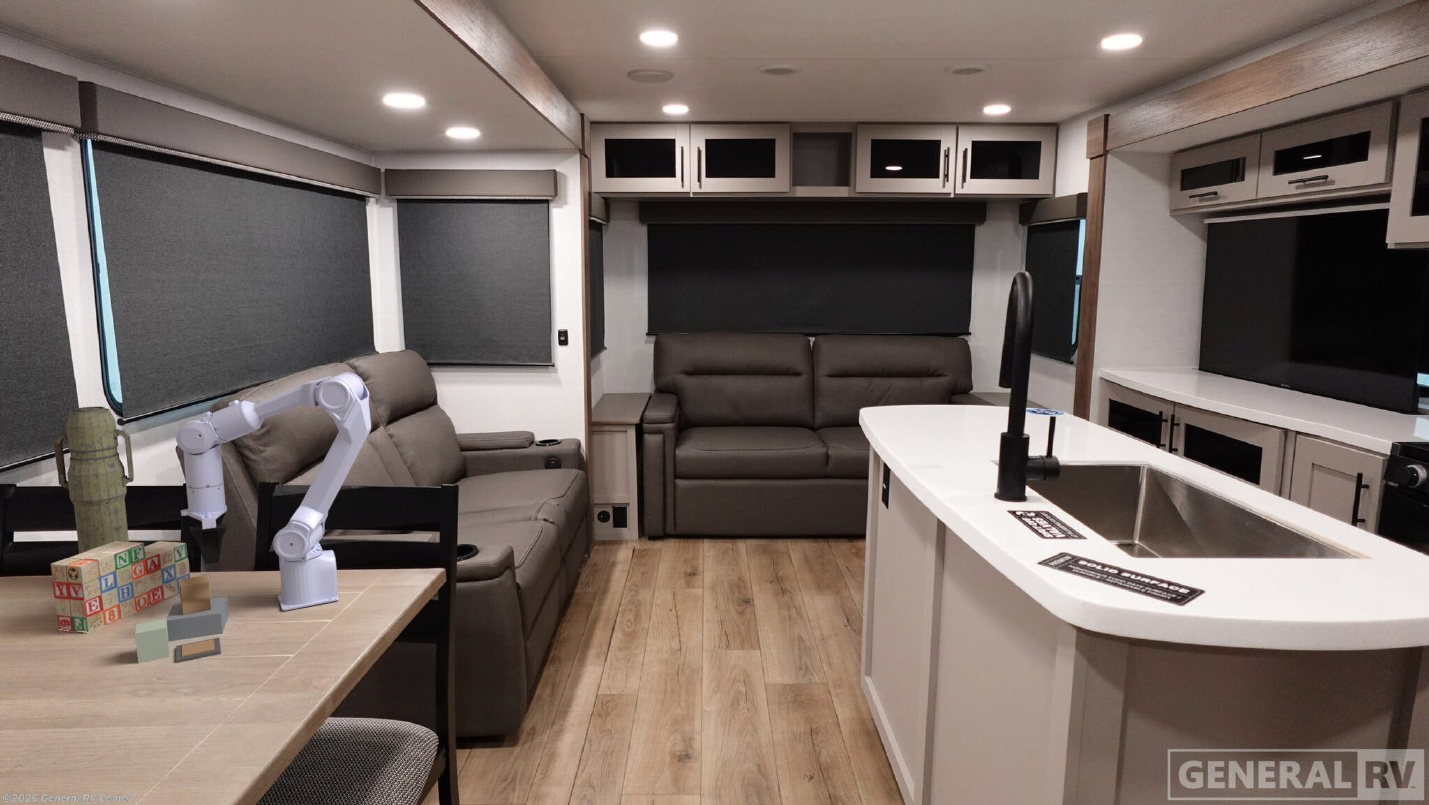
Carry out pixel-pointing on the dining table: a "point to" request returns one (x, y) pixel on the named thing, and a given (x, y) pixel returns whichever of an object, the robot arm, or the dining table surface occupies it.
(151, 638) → the sage green block
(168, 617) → the slate base block
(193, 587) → the walnut block
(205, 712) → the dining table surface
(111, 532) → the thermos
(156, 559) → the stack of blocks
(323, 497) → the robot arm
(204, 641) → the card
